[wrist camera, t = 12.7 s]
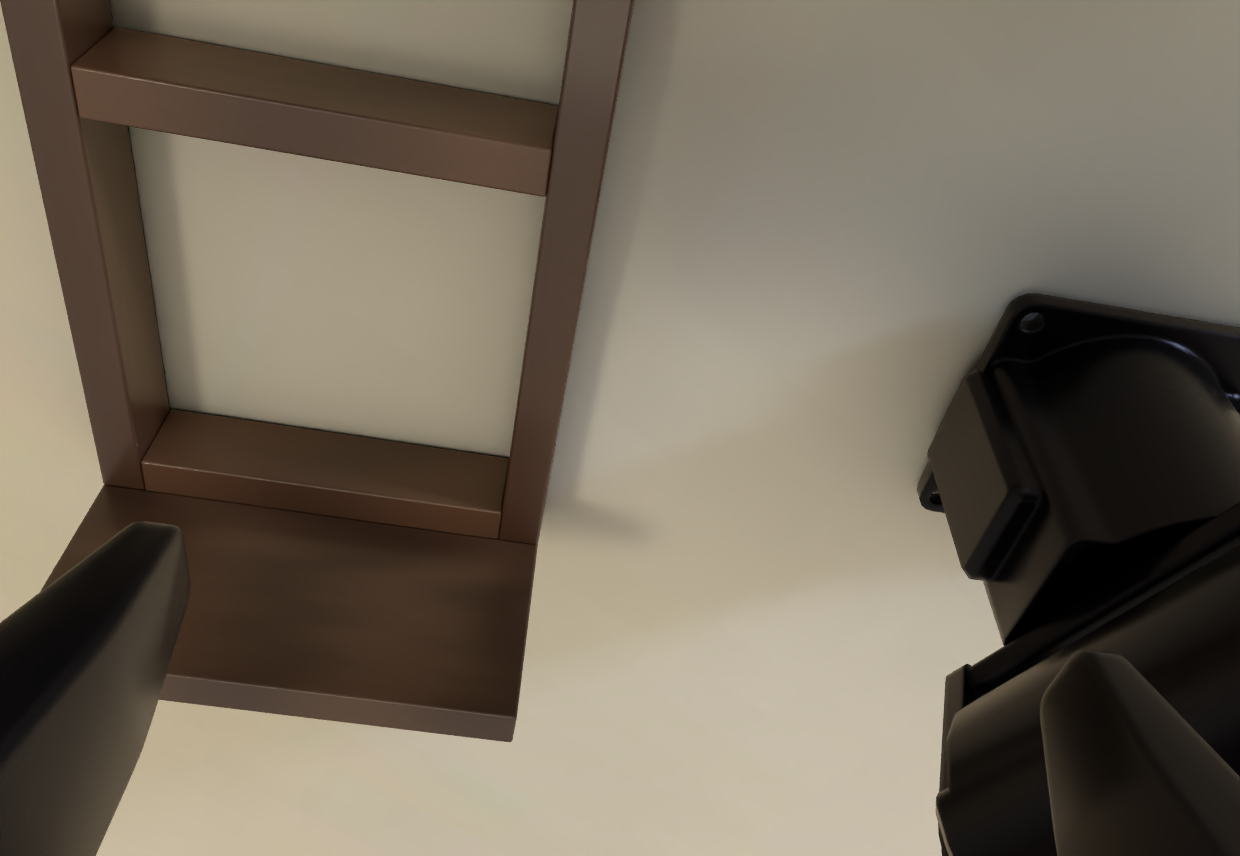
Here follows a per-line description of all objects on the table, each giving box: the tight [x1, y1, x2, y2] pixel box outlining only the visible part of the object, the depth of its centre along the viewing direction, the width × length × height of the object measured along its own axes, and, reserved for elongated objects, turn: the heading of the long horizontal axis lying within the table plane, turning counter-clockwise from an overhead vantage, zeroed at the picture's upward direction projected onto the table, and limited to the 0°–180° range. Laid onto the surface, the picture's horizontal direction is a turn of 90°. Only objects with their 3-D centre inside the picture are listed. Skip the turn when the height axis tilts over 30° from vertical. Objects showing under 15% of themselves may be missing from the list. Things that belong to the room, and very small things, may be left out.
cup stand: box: [0, 0, 634, 742], centre depth 18 cm, size 11×21×7 cm, turn 170°
